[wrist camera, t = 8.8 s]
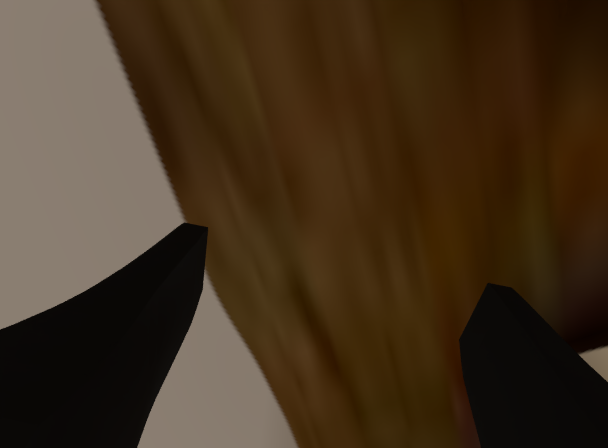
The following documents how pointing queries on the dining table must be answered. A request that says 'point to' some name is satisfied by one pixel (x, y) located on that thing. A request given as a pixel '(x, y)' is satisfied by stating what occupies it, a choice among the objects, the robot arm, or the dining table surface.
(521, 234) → the dining table surface
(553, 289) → the dining table surface
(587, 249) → the dining table surface
